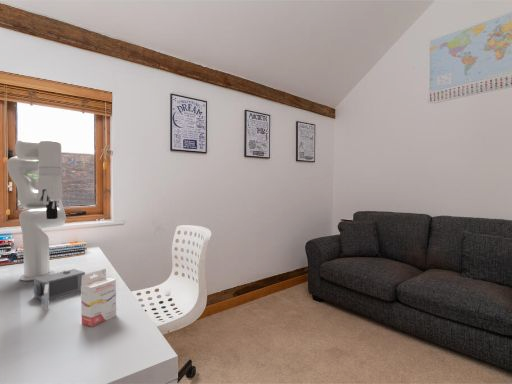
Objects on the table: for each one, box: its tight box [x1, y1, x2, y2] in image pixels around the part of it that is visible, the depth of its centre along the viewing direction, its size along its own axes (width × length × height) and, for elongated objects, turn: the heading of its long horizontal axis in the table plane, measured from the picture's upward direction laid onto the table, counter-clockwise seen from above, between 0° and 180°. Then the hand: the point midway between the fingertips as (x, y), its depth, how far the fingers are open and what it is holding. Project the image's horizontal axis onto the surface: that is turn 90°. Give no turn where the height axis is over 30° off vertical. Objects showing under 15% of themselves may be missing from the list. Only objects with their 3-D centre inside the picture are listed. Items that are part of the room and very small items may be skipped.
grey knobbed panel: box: [33, 268, 86, 301], centre depth 112 cm, size 9×16×8 cm, turn 146°
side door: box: [41, 282, 50, 310], centre depth 100 cm, size 2×12×6 cm, turn 34°
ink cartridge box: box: [80, 268, 117, 328], centre depth 89 cm, size 9×5×15 cm, turn 155°
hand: (52, 218), depth 115 cm, fingers closed
